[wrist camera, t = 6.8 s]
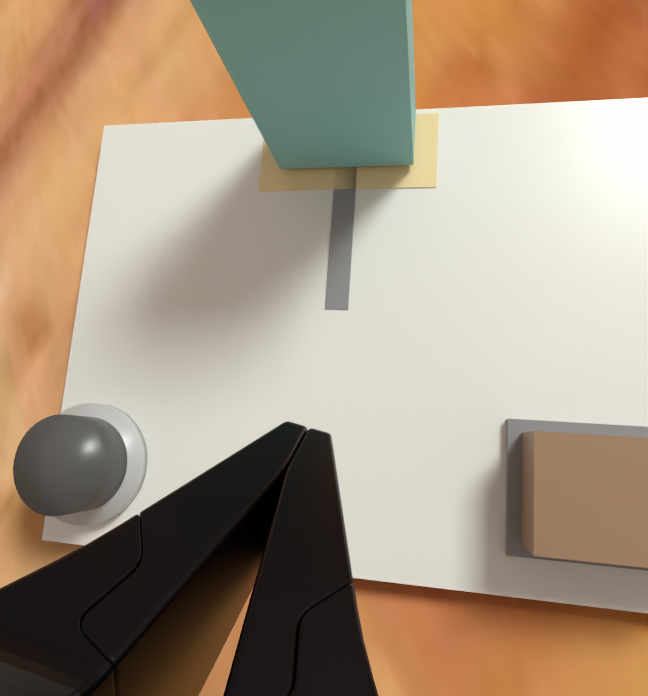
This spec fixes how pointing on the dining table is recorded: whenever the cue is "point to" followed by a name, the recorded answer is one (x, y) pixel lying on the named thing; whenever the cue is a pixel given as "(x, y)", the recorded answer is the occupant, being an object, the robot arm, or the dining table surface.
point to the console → (378, 342)
